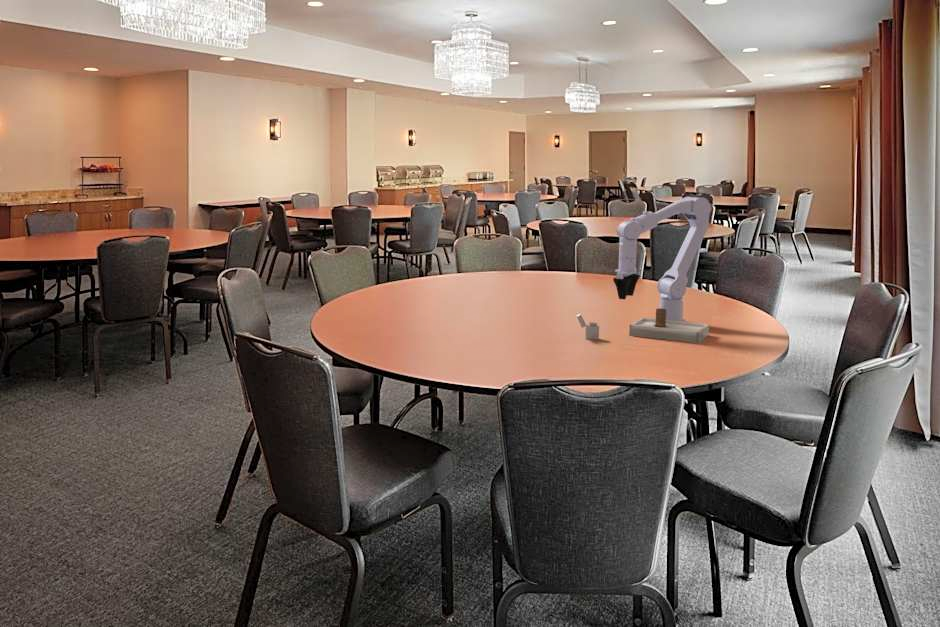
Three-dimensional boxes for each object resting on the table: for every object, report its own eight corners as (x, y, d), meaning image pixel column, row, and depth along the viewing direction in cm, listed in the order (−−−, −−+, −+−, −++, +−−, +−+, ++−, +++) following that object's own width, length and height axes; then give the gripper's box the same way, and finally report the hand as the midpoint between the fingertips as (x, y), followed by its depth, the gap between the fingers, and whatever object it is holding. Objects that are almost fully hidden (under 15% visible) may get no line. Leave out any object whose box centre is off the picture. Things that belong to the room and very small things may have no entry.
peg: (657, 331, 238) (658, 308, 236) (666, 333, 236) (667, 309, 234) (653, 333, 235) (654, 309, 234) (663, 335, 233) (664, 310, 232)
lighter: (598, 338, 229) (599, 313, 228) (598, 339, 228) (599, 314, 226) (576, 337, 231) (576, 313, 229) (576, 339, 229) (576, 314, 227)
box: (641, 327, 244) (642, 317, 243) (708, 335, 233) (709, 324, 232) (629, 335, 233) (629, 324, 233) (698, 343, 222) (699, 332, 221)
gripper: (623, 254, 251) (621, 292, 253) (608, 259, 238) (607, 299, 241) (643, 255, 247) (641, 294, 250) (629, 260, 235) (627, 301, 238)
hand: (625, 297), depth 245 cm, fingers open, 7 cm apart
